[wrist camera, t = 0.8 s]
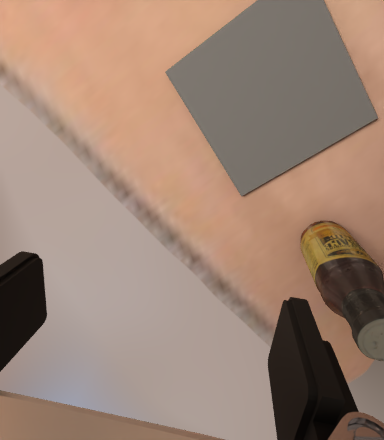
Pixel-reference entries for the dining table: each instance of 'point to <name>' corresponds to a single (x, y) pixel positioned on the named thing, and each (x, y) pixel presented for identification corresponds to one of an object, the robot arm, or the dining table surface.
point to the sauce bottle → (347, 283)
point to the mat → (272, 89)
